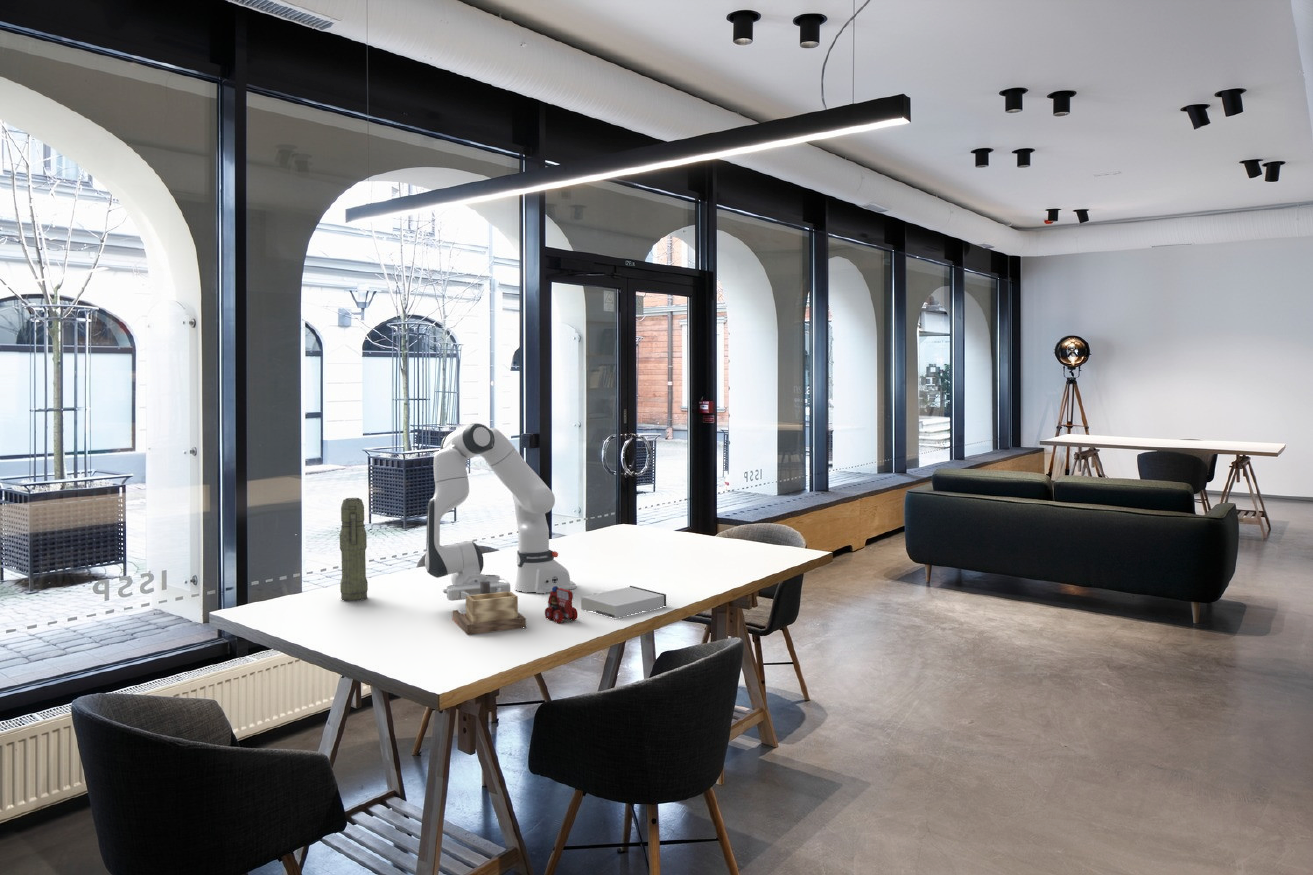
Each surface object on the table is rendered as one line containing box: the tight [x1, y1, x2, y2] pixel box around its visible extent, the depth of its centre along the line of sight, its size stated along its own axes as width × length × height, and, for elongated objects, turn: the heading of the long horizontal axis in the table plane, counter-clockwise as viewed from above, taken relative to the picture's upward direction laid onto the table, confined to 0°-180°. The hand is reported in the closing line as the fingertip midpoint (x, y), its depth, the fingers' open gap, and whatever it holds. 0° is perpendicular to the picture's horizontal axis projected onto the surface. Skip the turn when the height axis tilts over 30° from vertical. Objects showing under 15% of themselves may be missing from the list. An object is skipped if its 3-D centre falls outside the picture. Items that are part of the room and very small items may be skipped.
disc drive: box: [580, 585, 667, 619], centre depth 299 cm, size 18×22×5 cm
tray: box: [451, 609, 527, 636], centre depth 279 cm, size 18×19×3 cm
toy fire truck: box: [544, 586, 579, 624], centre depth 284 cm, size 7×12×10 cm, turn 38°
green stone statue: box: [339, 497, 369, 602], centre depth 312 cm, size 9×12×35 cm
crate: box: [465, 581, 519, 623], centre depth 278 cm, size 14×13×11 cm
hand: (484, 595), depth 282 cm, fingers open, 8 cm apart
